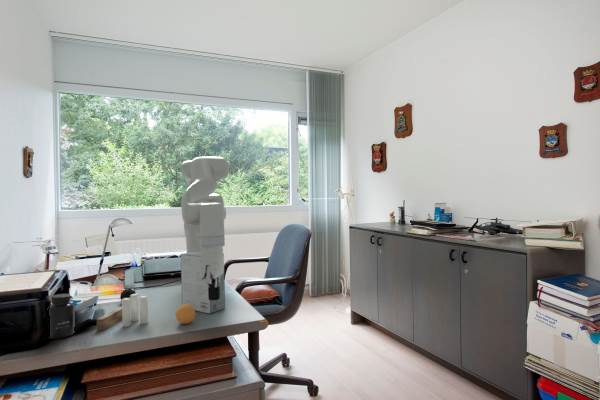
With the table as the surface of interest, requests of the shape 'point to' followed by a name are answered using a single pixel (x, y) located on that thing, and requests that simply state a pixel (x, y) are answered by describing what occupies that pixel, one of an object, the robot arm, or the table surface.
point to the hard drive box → (198, 285)
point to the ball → (185, 314)
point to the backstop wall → (109, 319)
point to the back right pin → (134, 307)
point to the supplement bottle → (61, 316)
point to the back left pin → (126, 312)
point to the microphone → (127, 293)
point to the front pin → (143, 309)
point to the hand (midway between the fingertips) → (214, 299)
